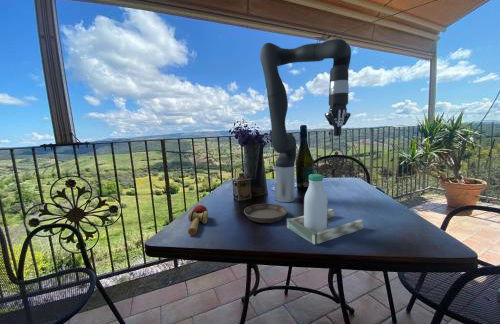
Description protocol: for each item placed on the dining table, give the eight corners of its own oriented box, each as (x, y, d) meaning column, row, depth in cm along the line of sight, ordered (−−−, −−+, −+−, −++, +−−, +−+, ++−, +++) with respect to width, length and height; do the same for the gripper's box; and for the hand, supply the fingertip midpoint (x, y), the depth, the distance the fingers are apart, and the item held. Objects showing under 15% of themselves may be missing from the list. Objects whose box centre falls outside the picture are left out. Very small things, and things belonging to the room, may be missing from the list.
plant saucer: (255, 207, 106) (255, 201, 105) (292, 212, 98) (292, 205, 97) (236, 221, 90) (236, 214, 90) (278, 228, 82) (278, 220, 82)
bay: (331, 215, 92) (331, 207, 91) (363, 228, 79) (363, 219, 79) (286, 227, 82) (286, 218, 82) (314, 244, 69) (314, 234, 69)
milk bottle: (325, 239, 73) (326, 177, 70) (301, 235, 76) (301, 176, 73) (329, 229, 80) (329, 173, 77) (306, 226, 83) (306, 172, 80)
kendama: (206, 238, 79) (212, 213, 97) (201, 222, 78) (208, 199, 95) (184, 242, 80) (194, 216, 97) (179, 227, 78) (190, 203, 95)
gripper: (342, 95, 99) (341, 135, 101) (319, 94, 93) (319, 136, 96) (357, 92, 92) (355, 135, 95) (333, 91, 86) (332, 136, 89)
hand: (337, 135), depth 95 cm, fingers closed
